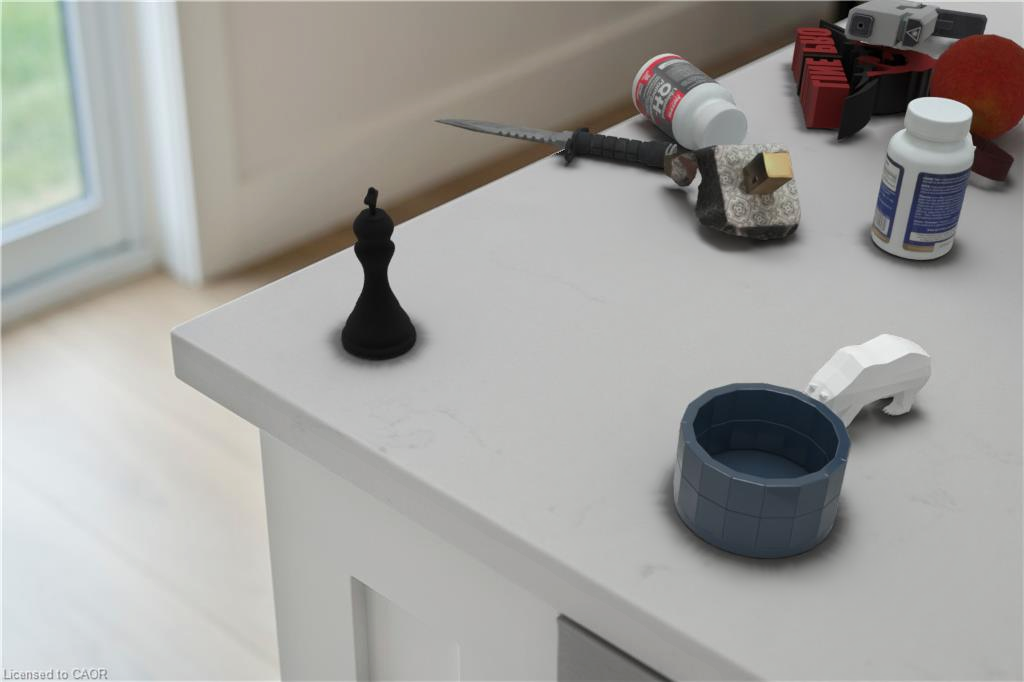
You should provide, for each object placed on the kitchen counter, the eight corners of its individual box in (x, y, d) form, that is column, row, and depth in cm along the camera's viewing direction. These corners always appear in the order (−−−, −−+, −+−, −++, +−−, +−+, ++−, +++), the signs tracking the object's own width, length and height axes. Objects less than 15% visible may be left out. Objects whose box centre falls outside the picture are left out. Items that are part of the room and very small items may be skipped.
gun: (990, 12, 118) (883, -7, 121) (979, 29, 96) (849, 6, 99) (983, 38, 119) (877, 20, 122) (970, 62, 97) (841, 38, 100)
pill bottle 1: (627, 62, 97) (693, 111, 90) (687, 43, 99) (756, 89, 91) (631, 124, 101) (695, 175, 93) (689, 104, 102) (756, 153, 95)
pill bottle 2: (963, 239, 85) (997, 106, 80) (933, 271, 82) (966, 133, 76) (889, 215, 88) (916, 85, 82) (856, 245, 84) (883, 110, 79)
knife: (448, 120, 101) (422, 142, 97) (448, 97, 100) (421, 119, 96) (680, 157, 95) (663, 181, 91) (682, 133, 94) (665, 157, 90)
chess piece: (330, 353, 73) (319, 200, 67) (356, 313, 76) (347, 165, 71) (403, 364, 72) (397, 211, 66) (425, 324, 75) (421, 174, 70)
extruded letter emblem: (808, 138, 98) (953, 146, 97) (815, 97, 96) (963, 105, 95) (787, 55, 113) (912, 61, 112) (792, 18, 111) (920, 24, 110)
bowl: (774, 436, 67) (786, 368, 64) (868, 530, 61) (885, 459, 58) (644, 474, 64) (651, 405, 62) (729, 577, 58) (740, 505, 56)
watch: (998, 144, 89) (967, 187, 90) (1034, 166, 91) (1003, 208, 93) (929, 103, 95) (901, 145, 96) (965, 126, 97) (937, 166, 98)
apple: (999, 71, 91) (1015, 2, 95) (901, 101, 96) (920, 35, 100) (1044, 143, 95) (1058, 74, 99) (947, 168, 100) (963, 102, 104)
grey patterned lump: (720, 120, 92) (831, 123, 82) (737, 210, 94) (847, 224, 84) (629, 151, 89) (732, 159, 78) (648, 243, 91) (751, 262, 80)
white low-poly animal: (925, 409, 69) (943, 339, 67) (812, 451, 66) (826, 380, 63) (894, 385, 71) (910, 317, 68) (783, 425, 68) (795, 355, 65)
